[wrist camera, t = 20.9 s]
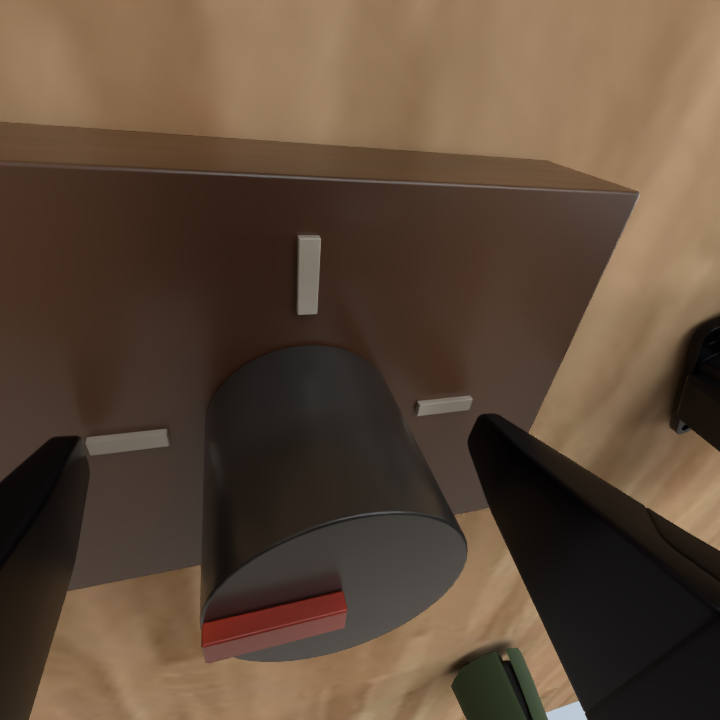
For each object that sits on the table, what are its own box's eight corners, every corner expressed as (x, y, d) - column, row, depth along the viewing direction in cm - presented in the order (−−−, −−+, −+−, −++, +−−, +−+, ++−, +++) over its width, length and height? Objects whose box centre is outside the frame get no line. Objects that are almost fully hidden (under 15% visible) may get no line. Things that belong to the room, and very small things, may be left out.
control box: (547, 160, 10) (649, 195, 8) (453, 441, 16) (496, 511, 14) (-119, 112, 7) (-305, 148, 4) (66, 497, 13) (30, 605, 10)
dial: (402, 337, 9) (513, 509, 5) (377, 468, 11) (445, 642, 8) (193, 351, 7) (176, 578, 4) (214, 493, 10) (214, 709, 7)
